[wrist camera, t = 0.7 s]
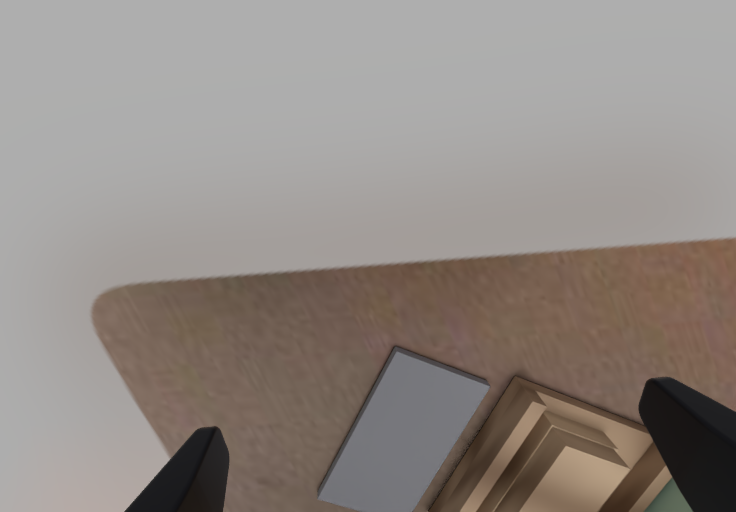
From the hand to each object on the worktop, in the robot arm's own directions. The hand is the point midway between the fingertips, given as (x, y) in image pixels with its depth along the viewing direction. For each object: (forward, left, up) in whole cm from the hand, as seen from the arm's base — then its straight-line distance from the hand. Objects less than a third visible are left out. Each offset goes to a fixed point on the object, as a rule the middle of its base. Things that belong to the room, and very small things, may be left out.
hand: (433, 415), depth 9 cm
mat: (-12, -7, -15) cm, 20 cm away
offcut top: (-10, -17, -12) cm, 23 cm away
